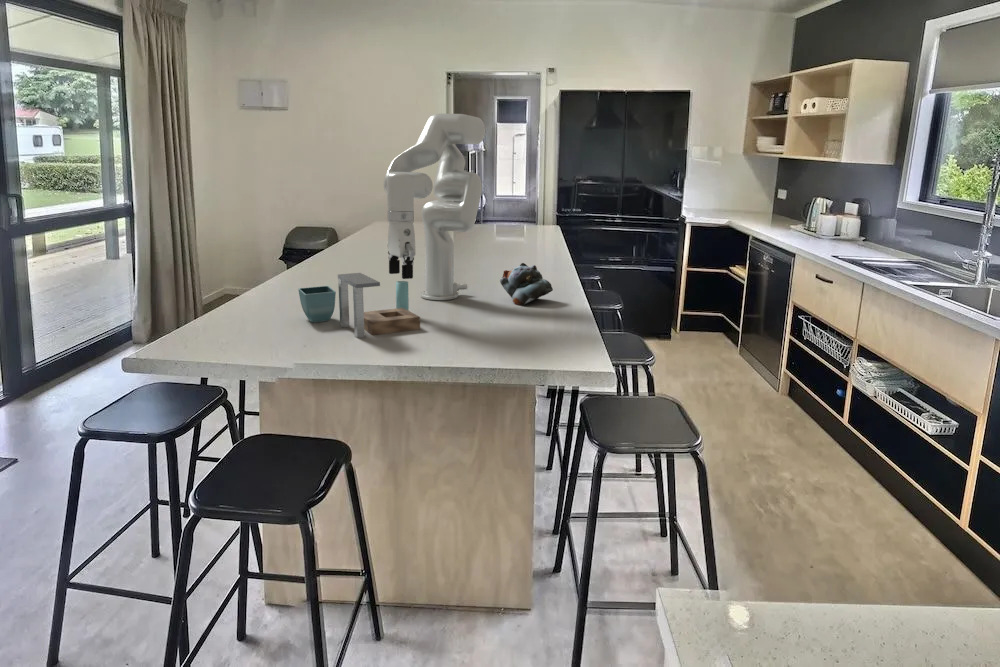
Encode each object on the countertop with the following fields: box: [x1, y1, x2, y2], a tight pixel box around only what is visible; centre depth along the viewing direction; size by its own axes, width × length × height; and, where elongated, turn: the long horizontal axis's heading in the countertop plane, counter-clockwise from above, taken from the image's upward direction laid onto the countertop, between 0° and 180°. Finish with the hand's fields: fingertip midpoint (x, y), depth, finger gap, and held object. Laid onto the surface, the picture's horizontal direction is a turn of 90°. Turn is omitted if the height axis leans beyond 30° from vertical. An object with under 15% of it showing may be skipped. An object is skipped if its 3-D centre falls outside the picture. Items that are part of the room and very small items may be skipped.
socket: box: [364, 308, 421, 336], centre depth 199 cm, size 14×12×4 cm
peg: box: [395, 280, 410, 311], centre depth 212 cm, size 4×4×10 cm
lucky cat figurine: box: [499, 262, 554, 306], centre depth 233 cm, size 15×12×14 cm
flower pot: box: [297, 285, 336, 324], centre depth 204 cm, size 9×9×9 cm
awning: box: [337, 272, 381, 339], centre depth 193 cm, size 6×15×14 cm, turn 31°
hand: (400, 276), depth 209 cm, fingers open, 9 cm apart
